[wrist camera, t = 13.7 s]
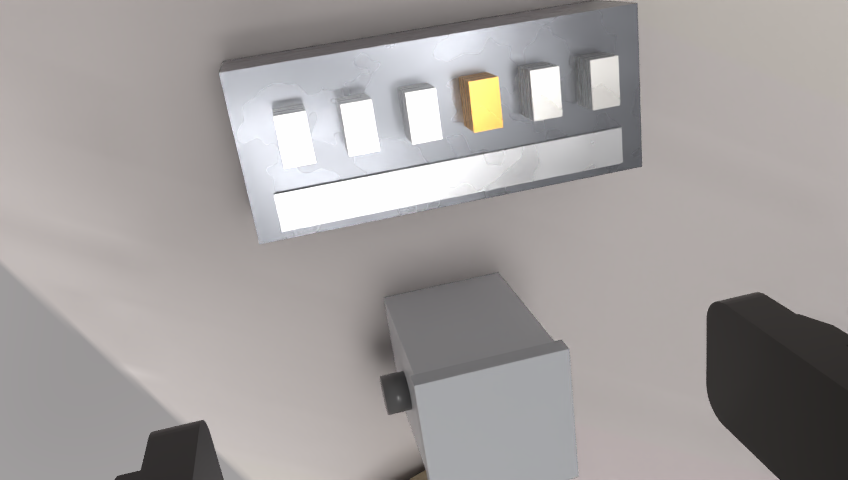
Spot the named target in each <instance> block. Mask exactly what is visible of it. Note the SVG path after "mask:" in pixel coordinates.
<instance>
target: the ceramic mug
mask: <svg viewBox="0 0 848 480" xmlns="http://www.w3.org/2000/svg"><path fill="white" fill-rule="evenodd" d="M409 480H428V479H427V473H426V470H424V471H423V472H421V473H419V474H417V475H416V476H414V477H412V478H411V479H409Z"/></svg>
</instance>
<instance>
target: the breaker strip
mask: <svg viewBox="0 0 848 480" xmlns="http://www.w3.org/2000/svg"><path fill="white" fill-rule="evenodd" d="M219 76H220V80H221V84H222V88H223V92H224V97H225V101H226V105H227V109H228V113H229V118H230V122H231V126H232V130H233V135H234V139H235V143H236V147H237V151H238V156H239V160H240V164H241V168H242V172H243V177H244V181H245V185H246V189H247V194H248V198H249V202H250V206H251V210H252V215H253V219H254V223H255V227H256V231H257V236H258V240H259V244H263V243H268V242H273V241H278V240H283V239H288V238H293V237H298V236H303V235H307V234H312V233H317V232H322V231H327V230H332V229H337V228H342V227H347V226H352V225H357V224H362V223H366V222H371V221H376V220H381V219H386V218H391V217H396V216H401V215H406V214H411V213H416V212H421V211H426V210H430V209H435V208H440V207H445V206H450V205H455V204H460V203H465V202H470V201H475V200H480V199H485V198H489V197H494V196H499V195H504V194H509V193H514V192H519V191H524V190H529V189H534V188H539V187H544V186H548V185H553V184H558V183H563V182H568V181H573V180H578V179H583V178H588V177H593V176H598V175H603V174H608V173H612V172H617V171H622V170H627V169H632V168H637V167H642V148H641V113H640V78H639V42H638V7H637V3H630V2H617V1H604V0H592V1H586V2H580V3H574V4H568V5H562V6H555V7H549V8H543V9H537V10H531V11H525V12H519V13H513V14H507V15H501V16H495V17H489V18H483V19H476V20H470V21H464V22H458V23H452V24H446V25H440V26H434V27H428V28H422V29H416V30H410V31H403V32H397V33H391V34H385V35H379V36H373V37H367V38H361V39H355V40H349V41H343V42H337V43H331V44H324V45H318V46H312V47H306V48H300V49H294V50H288V51H282V52H276V53H270V54H264V55H258V56H251V57H245V58H239V59H233V60H227V61H223V63H222V65H221V68H220V71H219Z"/></svg>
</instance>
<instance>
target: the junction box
mask: <svg viewBox="0 0 848 480" xmlns="http://www.w3.org/2000/svg"><path fill="white" fill-rule="evenodd" d="M384 304H385V309H386V315H387V321H388V327H389V332H390V338H391V344H392V349H393V355H394V361H395V367H396V373H392V374H388V375H384V376H380V382H381V387H382V392H383V397H384V401H385V405H386V409H387V413H388V415H391V414H395V413H399V412H404V411H406V414H407V417H408V420H409V423H410V426H411V429H412V432H413V435H414V438H415V440H416V443H417V446H418V449H419V452H420V455H421V458H422V461H423V464H424V466H425V469H426V473H427V479H428V480H570V479H574V478H577V477H579V475H578V461H577V447H576V434H575V420H574V407H573V393H572V379H571V366H570V352H569V348H568V347H567V346H566V344H565V343H564V342H563V341H562V340H558V341H554V340H553V339H552V338H551V337H550V335H549V334H548V333H547V332H546V331H545V329H544V328H543V327H542V326H541V324H540V323H539V322H538V321H537V320H536V318H535V317H534V316H533V315H532V313H531V312H530V311H529V310H528V308H527V307H526V306H525V305H524V304H523V302H522V301H521V300H520V299H519V297H518V296H517V295H516V294H515V293H514V291H513V290H512V289H511V288H510V286H509V285H508V284H507V283H506V282H505V280H504V279H503V278H502V277H501V275H500V274H499V273H493V274H489V275H484V276H480V277H475V278H470V279H466V280H461V281H457V282H452V283H448V284H443V285H439V286H434V287H429V288H425V289H420V290H416V291H411V292H407V293H402V294H398V295H393V296H389V297H384Z"/></svg>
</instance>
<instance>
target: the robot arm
mask: <svg viewBox="0 0 848 480" xmlns="http://www.w3.org/2000/svg"><path fill="white" fill-rule="evenodd" d="M706 384H707V393H708V398H709V401H710V404H711V406H712V409H713V411H714V413H715V415H716V416H717V418H718V419H719V421H720V422H721V423H722V424H723V425H724V426H725V427H726V428H727V429H728V430H729V431H730V432H731V433H732V434H733V435H734V436H735V437H736V438H737V439H738V440H739V441H740V442H741V443H742V444H743V445H744V446H745V447H747V448H748V449H749V450H750V451H751V452H752V453H753V454H754V455H755V456H756V457H757V458H758V459H759V460H760V461H761V462H762V463H763V464H764V465H765V466H766V467H767V468H768V469H769V470H770V471H771V472H772V473H773V474H774V475H775V476H776V477H778V478H779V479H780V480H848V334H846V333H845V332H843V331H842V330H840V329H838V328H837V327H835V326H833V325H830V324H827V323H824V322H821V321H818V320H815V319H812V318H809V317H806V316H803V315H800V314H795V313H794V312H792V311H790V310H789V309H787V308H786V307H784V306H782V305H781V304H779V303H778V302H776V301H775V300H773V299H771V298H770V297H768V296H767V295H765V294H763V293H759V292H756V293H751V294H747V295H743V296H739V297H734V298H730V299H726V300H721V301H717V302H714V303H712V304H711V305H710V307H709V309H708V313H707V372H706ZM115 480H224V479H223V476H222V472H221V469H220V465H219V462H218V459H217V455H216V452H215V448H214V445H213V441H212V438H211V435H210V431H209V429H208V426H207V424H206V423H205V421H204V420H201V421H196V422H192V423H188V424H183V425H179V426H175V427H171V428H166V429H162V430H158V431H154V432H151V433H150V435H149V438H148V442H147V447H146V451H145V455H144V459H143V464H142V468H141V470H140V471H136V472H132V473H128V474H124V475H120V476H117V477H116V478H115Z"/></svg>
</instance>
